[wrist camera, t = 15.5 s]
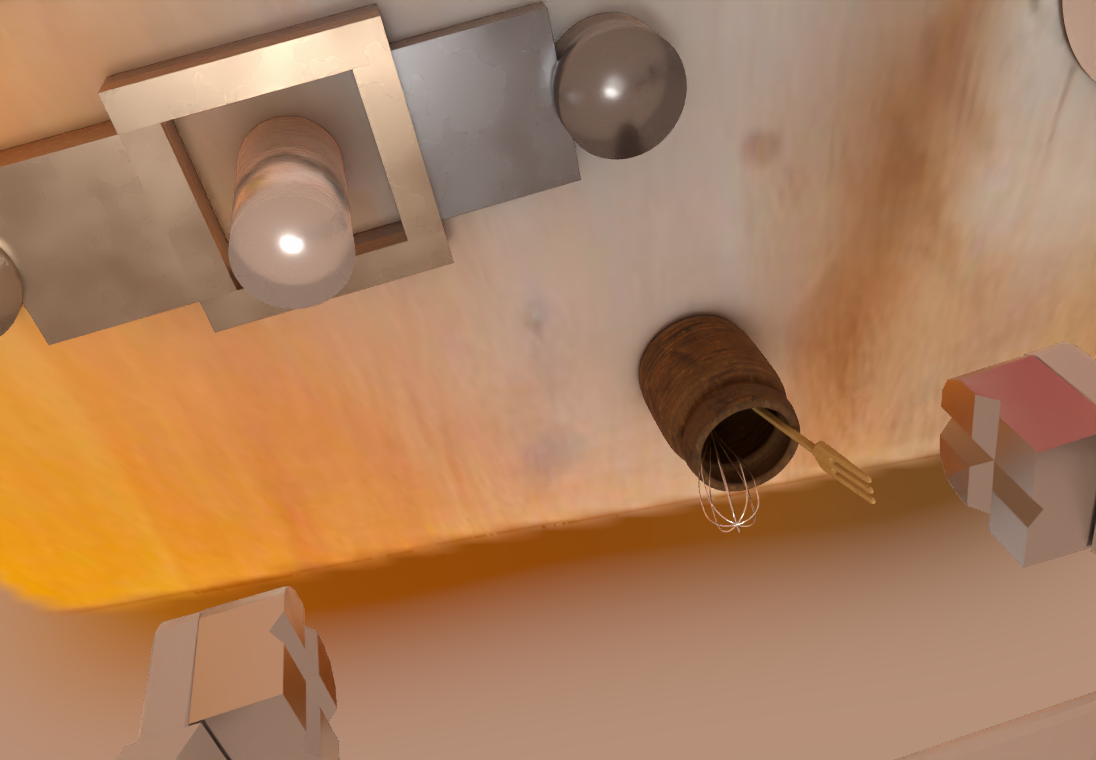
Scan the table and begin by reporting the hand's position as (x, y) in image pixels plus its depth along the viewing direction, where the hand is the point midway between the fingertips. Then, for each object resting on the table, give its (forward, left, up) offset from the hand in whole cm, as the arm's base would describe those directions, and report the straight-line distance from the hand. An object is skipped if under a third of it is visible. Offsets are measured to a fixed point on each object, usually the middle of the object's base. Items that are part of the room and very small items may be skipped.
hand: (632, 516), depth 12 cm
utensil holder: (-9, +20, -29) cm, 37 cm away
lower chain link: (+1, +5, -29) cm, 30 cm away
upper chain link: (+11, +5, -29) cm, 32 cm away
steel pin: (+6, +5, -29) cm, 30 cm away
